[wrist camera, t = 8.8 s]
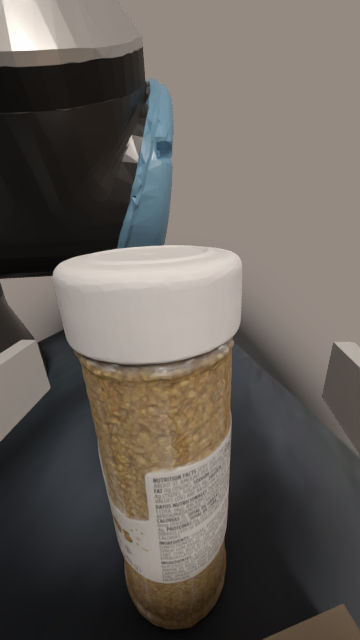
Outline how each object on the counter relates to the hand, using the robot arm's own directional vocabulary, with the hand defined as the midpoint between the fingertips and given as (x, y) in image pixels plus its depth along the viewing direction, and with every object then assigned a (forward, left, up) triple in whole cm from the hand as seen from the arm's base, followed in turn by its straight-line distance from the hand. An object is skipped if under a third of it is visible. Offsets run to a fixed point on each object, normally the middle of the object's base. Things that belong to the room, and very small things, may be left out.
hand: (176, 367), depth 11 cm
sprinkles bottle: (+3, -1, -8) cm, 9 cm away
